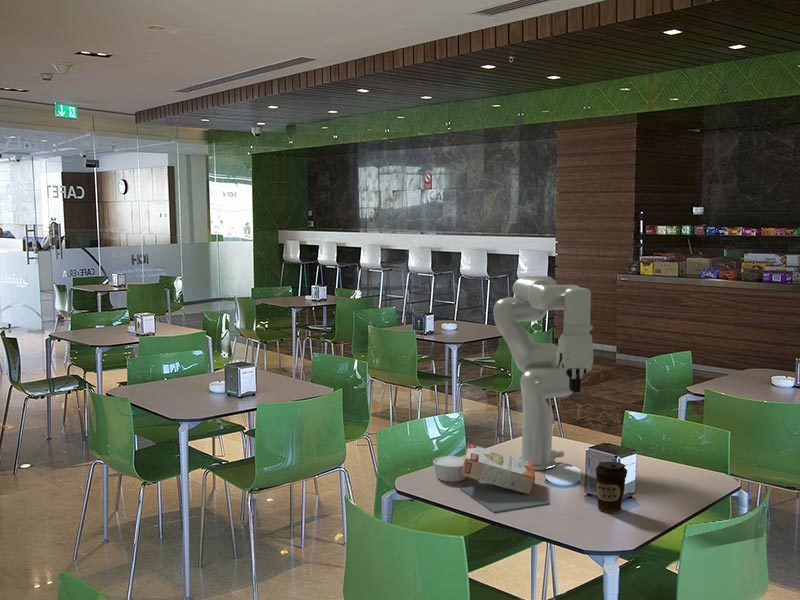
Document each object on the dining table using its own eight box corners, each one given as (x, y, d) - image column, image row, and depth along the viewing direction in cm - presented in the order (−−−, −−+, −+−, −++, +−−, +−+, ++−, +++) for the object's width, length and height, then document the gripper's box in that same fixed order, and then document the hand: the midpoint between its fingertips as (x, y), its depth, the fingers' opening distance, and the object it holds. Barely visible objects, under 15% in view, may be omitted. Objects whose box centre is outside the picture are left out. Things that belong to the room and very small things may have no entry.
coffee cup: (621, 518, 211) (622, 471, 210) (590, 512, 215) (592, 466, 214) (628, 507, 218) (630, 462, 217) (599, 502, 223) (600, 457, 221)
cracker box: (536, 476, 226) (465, 457, 228) (531, 496, 227) (460, 476, 229) (534, 460, 239) (468, 442, 242) (529, 479, 240) (463, 461, 242)
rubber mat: (512, 482, 239) (513, 480, 239) (549, 504, 221) (549, 502, 221) (460, 489, 232) (460, 488, 232) (493, 513, 214) (493, 511, 214)
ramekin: (428, 473, 248) (429, 456, 247) (462, 470, 250) (462, 454, 250) (438, 484, 237) (439, 467, 236) (474, 482, 239) (474, 465, 239)
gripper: (590, 327, 235) (588, 386, 237) (547, 329, 230) (546, 390, 232) (605, 330, 229) (603, 392, 230) (561, 332, 223) (559, 396, 225)
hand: (574, 391), depth 231 cm, fingers closed
